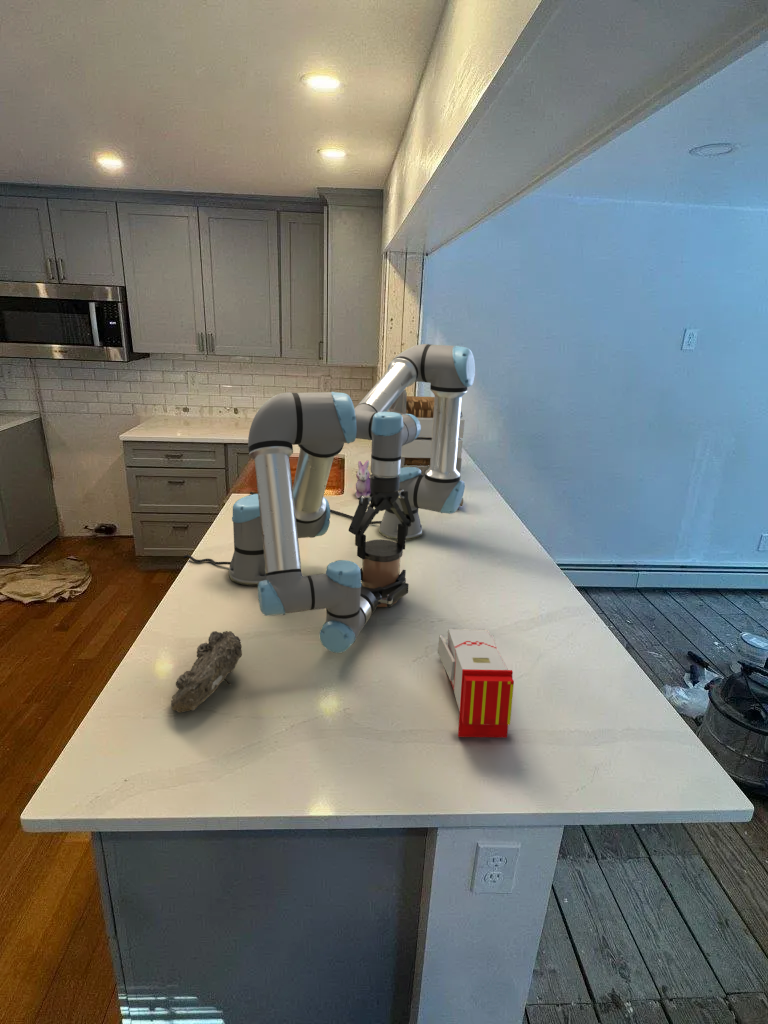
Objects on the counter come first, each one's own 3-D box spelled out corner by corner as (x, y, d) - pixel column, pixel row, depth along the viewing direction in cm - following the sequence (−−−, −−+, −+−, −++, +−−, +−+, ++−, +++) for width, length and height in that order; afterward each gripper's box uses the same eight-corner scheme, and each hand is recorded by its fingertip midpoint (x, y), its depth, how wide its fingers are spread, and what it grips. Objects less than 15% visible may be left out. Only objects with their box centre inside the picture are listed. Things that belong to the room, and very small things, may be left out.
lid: (361, 544, 156) (361, 538, 155) (402, 545, 156) (402, 540, 155) (359, 561, 145) (359, 555, 145) (403, 562, 146) (403, 557, 145)
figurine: (359, 500, 232) (360, 465, 227) (349, 493, 240) (350, 458, 235) (380, 498, 236) (381, 463, 231) (369, 490, 244) (370, 457, 239)
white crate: (382, 463, 289) (386, 382, 275) (445, 464, 293) (451, 384, 279) (390, 482, 257) (394, 392, 243) (460, 483, 261) (468, 394, 247)
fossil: (194, 633, 127) (242, 602, 122) (224, 662, 130) (271, 633, 125) (149, 706, 107) (203, 673, 102) (185, 738, 110) (239, 707, 105)
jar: (361, 588, 160) (363, 540, 155) (397, 590, 160) (400, 542, 155) (360, 606, 150) (361, 556, 146) (398, 607, 151) (401, 557, 146)
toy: (488, 613, 130) (523, 677, 101) (484, 667, 133) (517, 744, 104) (435, 612, 130) (455, 676, 101) (432, 666, 133) (451, 743, 103)
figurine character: (463, 515, 225) (458, 499, 238) (465, 497, 221) (460, 482, 235) (446, 514, 224) (442, 498, 238) (448, 497, 221) (444, 482, 235)
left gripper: (314, 612, 141) (346, 576, 161) (402, 630, 135) (424, 590, 155) (314, 585, 139) (347, 551, 159) (403, 603, 133) (426, 565, 153)
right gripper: (413, 465, 153) (409, 539, 160) (335, 476, 139) (334, 556, 147) (431, 472, 147) (425, 548, 154) (352, 484, 134) (349, 567, 141)
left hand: (385, 570), depth 157 cm, fingers closed on jar, 10 cm apart
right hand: (381, 552), depth 151 cm, fingers open, 12 cm apart
